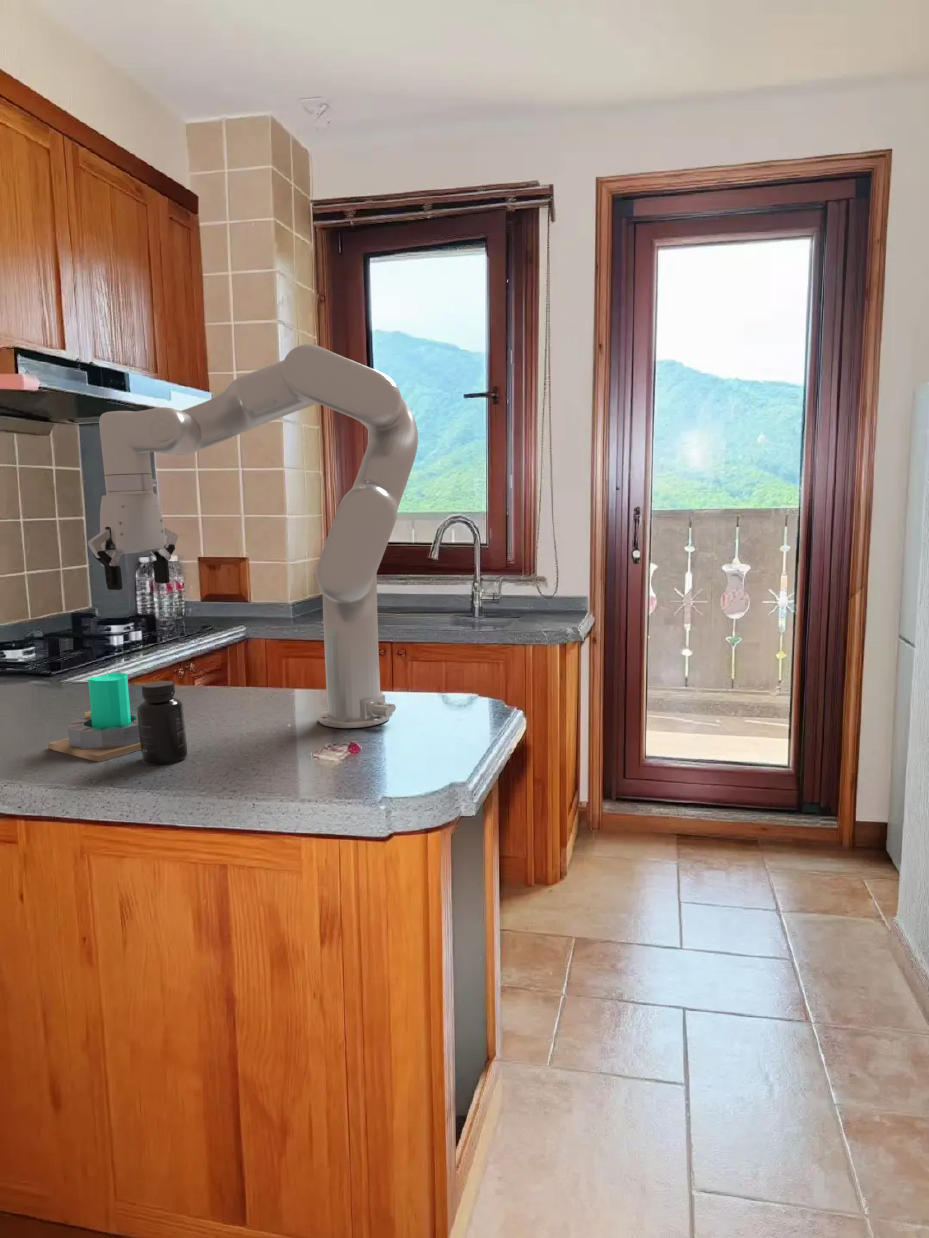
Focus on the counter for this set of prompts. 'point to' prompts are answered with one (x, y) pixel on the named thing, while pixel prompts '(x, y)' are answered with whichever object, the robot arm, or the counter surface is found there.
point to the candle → (109, 700)
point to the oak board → (92, 754)
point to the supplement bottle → (161, 724)
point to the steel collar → (102, 734)
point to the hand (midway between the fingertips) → (139, 586)
